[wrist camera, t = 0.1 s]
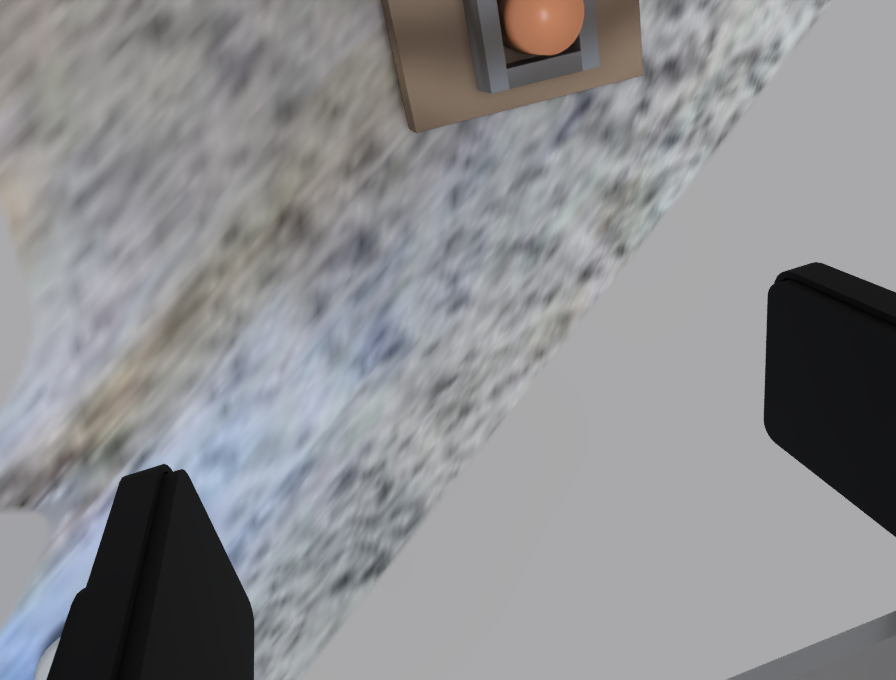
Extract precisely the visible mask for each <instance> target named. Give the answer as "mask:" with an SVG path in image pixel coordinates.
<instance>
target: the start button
mask: <svg viewBox="0 0 896 680" xmlns="http://www.w3.org/2000/svg"><path fill="white" fill-rule="evenodd" d="M498 14H499V20H500V27H501V34H502V39H503V40H504V42H505V43H506V44H507V45H508V46H509V47H510V48H511V49H513V50H514V51H516V52H518V53H522V54H533V55H554V54H558V53H560V52H562V51H564V50H565V49H567V48H568V47H569V46H570V45H571V44H572V43H573V42H574V41H575V40H576V38H577V37H578V35H579V33H580V31H581V28H582V25H583V20H584V3H583V0H501V1H500V3H499V7H498Z"/></svg>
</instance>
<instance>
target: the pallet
mask: <svg viewBox="0 0 896 680" xmlns="http://www.w3.org/2000/svg"><path fill="white" fill-rule="evenodd" d="M500 1H501V0H381V2H382V7H383V11H384V16H385V20H386V25H387V29H388V34H389V38H390V43H391V48H392V52H393V57H394V61H395V66H396V70H397V75H398V80H399V84H400V89H401V93H402V98H403V102H404V107H405V111H406V116H407V121H408V125H409V129H411V130H412V131H414V132H416V133H418V132H422V131H426V130H430V129H434V128H438V127H442V126H445V125H449V124H453V123H457V122H461V121H465V120H469V119H473V118H477V117H481V116H485V115H489V114H493V113H497V112H501V111H504V110H508V109H512V108H516V107H520V106H524V105H528V104H532V103H536V102H540V101H544V100H548V99H552V98H556V97H560V96H564V95H567V94H571V93H575V92H579V91H583V90H587V89H591V88H595V87H599V86H603V85H607V84H611V83H615V82H619V81H623V80H626V79H630V78H634V77H638V76H642V75H643V63H642V45H641V27H640V9H639V0H583V3H584V20H583V25H582V28H581V31H580V33H579V35H578V37H577V38H576V40H575V41H574V42H573V43H572V44H571V45H570V46H569V47H568V48H567V49H565V50H564V51H562V52H560V53H558V54H554V55H533V54H522V53H518V52H516V51H514V50H513V49H511V48H510V47H509V46H508V45H507V44H506V43H505V42H504V40H503V39H502V34H501V27H500V20H499V14H498V7H499V3H500Z"/></svg>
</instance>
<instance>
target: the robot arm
mask: <svg viewBox="0 0 896 680" xmlns="http://www.w3.org/2000/svg"><path fill="white" fill-rule="evenodd" d="M766 339H767V340H766V368H765V399H764V425H765V428H766V431H767V433H768V435H769V436H770V438H771V439H772V440H773V441H774V442H775V443H776V444H777V445H779V446H780V447H781V448H782V449H784V450H785V451H787V452H788V453H789V454H790V455H791V456H793V457H794V458H795V459H796V460H798V461H799V462H800V463H802V464H803V465H804V466H806V467H807V468H808V469H809V470H811V471H812V472H813V473H814V474H816V475H817V476H819V477H820V478H821V479H822V480H823V481H825V482H826V483H827V484H828V485H830V486H831V487H832V488H834V489H835V490H836V491H837V492H839V493H840V494H841V495H843V496H844V497H845V498H846V499H848V500H849V501H850V502H852V503H853V504H854V505H855V506H857V507H858V508H859V509H860V510H862V511H863V512H864V513H866V514H867V515H868V516H870V517H871V518H872V519H873V520H875V521H876V522H877V523H879V524H880V525H881V526H882V527H884V528H885V529H886V530H887V531H889V532H890V533H891V534H893V535H894V536H895V537H896V292H893V291H891V290H888V289H885V288H883V287H881V286H878V285H875V284H873V283H870V282H868V281H865V280H863V279H860V278H858V277H855V276H853V275H850V274H848V273H845V272H843V271H840V270H838V269H835V268H833V267H830V266H827V265H825V264H823V263H818V262H815V263H810V264H807V265H804V266H801V267H797V268H794V269H791V270H788V271H785V272H782V273H780V274H779V275H778V276H777V278H776V280H775V283H774V284H773V285H772V286H771V287H770V289H769V292H768V305H767V336H766ZM46 680H254V618H253V612H252V608H251V605H250V602H249V599H248V597H247V595H246V593H245V591H244V589H243V587H242V585H241V582H240V580H239V578H238V576H237V574H236V572H235V570H234V568H233V566H232V564H231V562H230V560H229V558H228V556H227V554H226V552H225V549H224V547H223V545H222V543H221V541H220V539H219V537H218V535H217V533H216V531H215V529H214V527H213V525H212V523H211V521H210V519H209V517H208V514H207V512H206V510H205V508H204V506H203V504H202V502H201V500H200V498H199V496H198V494H197V492H196V490H195V488H194V486H193V484H192V481H191V479H190V477H189V476H188V474H187V473H186V471H185V470H183V469H181V470H177V471H174V472H173V471H172V469H171V468H170V467H169V466H168V465H166V464H162V465H159V466H156V467H153V468H150V469H146V470H143V471H140V472H137V473H133V474H130V475H127V476H124V477H122V479H121V481H120V483H119V486H118V489H117V492H116V495H115V498H114V502H113V505H112V508H111V511H110V514H109V517H108V520H107V524H106V527H105V530H104V533H103V536H102V539H101V542H100V546H99V549H98V552H97V555H96V558H95V561H94V564H93V567H92V571H91V574H90V577H89V580H88V583H87V586H86V588H84V589H82V590H81V591H80V592H79V593H77V595H76V597H75V599H74V601H73V603H72V605H71V608H70V611H69V614H68V617H67V620H66V623H65V626H64V629H63V632H62V635H61V638H60V641H59V644H58V647H57V649H56V652H55V655H54V658H53V661H52V664H51V667H50V670H49V673H48V676H47V679H46ZM727 680H896V611H894V612H892V613H889V614H887V615H885V616H882V617H880V618H877V619H875V620H872V621H870V622H867V623H865V624H862V625H860V626H858V627H855V628H852V629H850V630H847V631H845V632H843V633H840V634H838V635H835V636H833V637H830V638H828V639H825V640H823V641H820V642H818V643H815V644H813V645H810V646H808V647H805V648H803V649H801V650H798V651H796V652H793V653H791V654H788V655H786V656H783V657H781V658H778V659H776V660H773V661H771V662H769V663H766V664H764V665H761V666H759V667H756V668H754V669H751V670H749V671H746V672H744V673H741V674H739V675H736V676H734V677H732V678H729V679H727Z"/></svg>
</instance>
